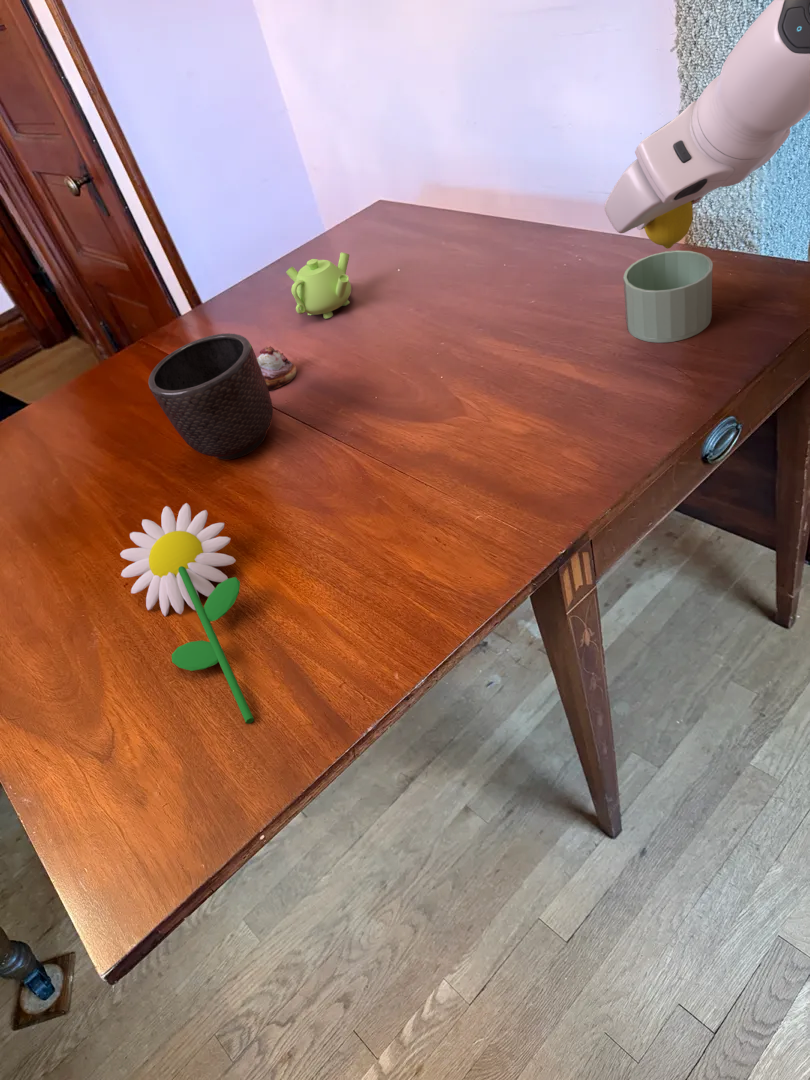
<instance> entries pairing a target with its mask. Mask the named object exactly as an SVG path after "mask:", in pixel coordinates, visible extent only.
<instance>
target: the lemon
mask: <svg viewBox="0 0 810 1080" xmlns="http://www.w3.org/2000/svg"><path fill="white" fill-rule="evenodd" d="M693 214H694V210H693V205H692V202H691V201H690V202H688V203H685V204H683V205H681V206H679V207H677V208H675V209H673V210H671V211H669V212H667V213H665V214H662V215H660V216H658V217H656V218H655V220H654V221H653V222H652V223H651V225H649V226H647V227H645V228H643V229H644V232H645V234H646V236H647V237H648V239H649V240H650V242H652V243H654V244H656V245H657V246H662V247H664V248H665V249H666V250H667V249H668V250H669V249H672V247H673V246H674V245H675V244H678V243H679V242H681V241H682V240H683V239H684V238H685V237H686V235H687V234H688V232H689V230H690V228H691V226H692V223H693V217H694V215H693Z"/></svg>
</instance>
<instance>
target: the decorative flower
mask: <svg viewBox="0 0 810 1080" xmlns="http://www.w3.org/2000/svg"><path fill="white" fill-rule="evenodd" d="M177 515H178V516H177V519H176V518H175V514H174V512H173V511H172V508H171V507H169V506H168V505H165V506H164V507H163V509H162V512H161V515H160V517H161V526H160V525H159V524H157V523H156V522H155V521H152V520H151V519H142V521H141V526H142V529H143V530H144V532H145V533H143V532H140V531H132V532H130V533H129V538H130V540H131V541H132V542H133V543H134V544H135V545H136V546H138V547H130V548H126V549H122V551H121V552H120V553H119V555H120V557H121V559H124V560H127V561H129V562H130V561H131V562H133V563H131V564H128V566H125V568H123V569H122V571H121V573H120V576H121V577H123V578H135V577H137V576H139V578H138V579H136V580H135V583H133V585H132V587H131V589H130V594H138V593H140V592H142V591H144V590H145V589H146V588H148V589H147V592H146V597H145V607H146V609H147V611H150V610H153V608H154V607H155V605H156V604H157V603H158V601H159V607H160V610H161V613H162V615H163V616H164V617H167V615H168V614H169V610H170V606H172V608H173V610H174V612H175V613H176V614H179V615H182V613H184V610H185V609H184V608H185V602H186V604H187V605H188V607H190V608H191V609H192V610H193V611H195V612H196V614H197V616H198V618H199V620H200V623H201V625H202V627H203V629H204V632H205V633H206V636H207V639H208V641H207V640H194V641H188V642H186V643H183V644H181V645H180V646H177V648H176V649H175V650H174V651H173V652H172V654H171V662H172V664H174V665H175V666H177V667H178V668H179V669H181V670H186V671H191V672H193V671H203V670H206V669H208V668H211V667H213V666H215V665H217V664H218V663H219V665H220V668H221V670H222V672H223V674H224V677H225V679H226V682H227V683H228V686H229V688H230V690H231V693H232V695H233V698H234V700H235V702H236V704H237V706H238V709H239V711H240V713H241V715H242V718H243V720H244V722H245V724H247V725H249V724H252V723H253V722H254V721H255V718H254V716H253V713H252V711H251V709H250V707H249V704H248V702H247V700H246V698H245V696H244V694H243V691H242V689H241V687H240V685H239V683H238V681H237V678H236V676H235V674H234V671H233V669H232V667H231V665H230V663H229V661H228V658H227V656H226V653H225V652H224V650H223V647H222V645H221V643H220V641H219V638H218V636H217V635H216V632H215V629H214V628H213V625H212V623H211V622H215V621H218V620H219V619H221V618H222V617H224V616H225V615H226V614H227V613H228V612H229V610H230V609H231V608H232V607H233V606H234V604H236V600H237V598H238V597H239V594H240V591H241V590H240V589H241V588H240V587H241V581H240V580H239V578H237V576H233V577H229V578H228V576H227V575H226V574H225V573H224V572H222V571H221V570H220V569H218V568H217V567H227V566H230V565H233V564H234V563H236V561H237V560H236V559H235V558H234V556H231V555H228V554H226V553H220V552H218V551H220V550H223V549H224V548H225V547H226V546H227V545H228V544H230V542H231V537H228V536H219V534H220V533H221V532H222V531H223V529H224V528H225V522H216V523H212V524H210V525H209V526H206V527H205V525H206V524H207V520H208V516H209V513H208V511H207V509H204V510H202V511H200V512H198V514H196V515H195V516H194V518H193V519H192V510H191V506H190V505H189V503H187V502H186V503H184V504H182V506H181V507H180V509H179V511H178V514H177ZM210 581H212V582H215V583H218V584H217V585H216V586H214V585H213V584H212V582H210ZM199 593H200V594H202V595H204V596H205V597H207V599H206V600H205V603H204V605H203V603H202V600H201V599H200V595H199Z"/></svg>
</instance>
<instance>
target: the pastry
mask: <svg viewBox="0 0 810 1080" xmlns="http://www.w3.org/2000/svg"><path fill="white" fill-rule="evenodd" d="M259 353H260V355H258V356H257V357H256V358H257V360H258V363H259V365H260V368H261V370H262V373H263V376H264V378H265V381H266V384H267V387H268V390H269V391H273V390H276V389H278V388H281V387H282V386H285V385H286V384H288V383H290V382H291V381H292V380H293V379H294V378H295V377H296V376H297V366H296V365H295V364H294V363H293V362H291V360H289V359H288V357H286V355H285V354H284V353H283V352H282V353H281V352H280V351H279V350H278V349H275V347H273V346H271V345H270V346H265V347H263V348H262V349H261V350H260V351H259Z"/></svg>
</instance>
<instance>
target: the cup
mask: <svg viewBox="0 0 810 1080" xmlns="http://www.w3.org/2000/svg"><path fill="white" fill-rule="evenodd" d="M622 279H623V291H624V292H623V293H624V295H623V296H624V309H625V311H624V312H625V323H626V329H627V331H628V333H629V334H630V335H631V336H632V337H634V338H636V339H638V340H640V341H643V342H647V343H653V344H657V343H658V344H663V343H674V342H678V341H683V340H686V339H689V338H691V337H695V336H696V335H699V334H700V333H702V332H703V331H704V330H705V329H707V328H708V326H709V325H710V324H711V322H712V318H713V289H714V287H713V283H714V282H713V281H714V280H713V279H714V263H713V261H712V259H711V258H710V257H709V256H708V255H705V254H704V253H701V252H696V251H693V250H667V251H661V252H657V253H654V254H653V253H652V254H650V255H647V256H644V257H642V258H640V259H638V260H636V261H635V262H633V263H632V264H630V265H629V266H628V267H627V268H626V270H625V271H624V274H623V278H622Z"/></svg>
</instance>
